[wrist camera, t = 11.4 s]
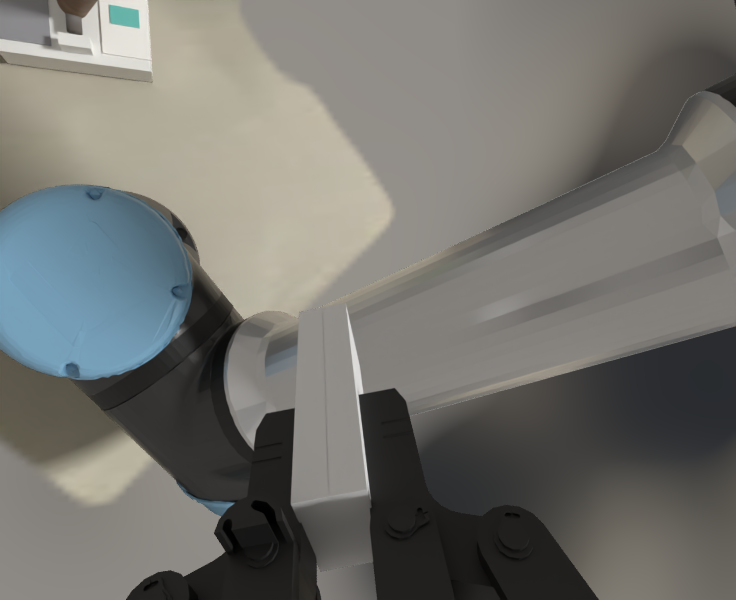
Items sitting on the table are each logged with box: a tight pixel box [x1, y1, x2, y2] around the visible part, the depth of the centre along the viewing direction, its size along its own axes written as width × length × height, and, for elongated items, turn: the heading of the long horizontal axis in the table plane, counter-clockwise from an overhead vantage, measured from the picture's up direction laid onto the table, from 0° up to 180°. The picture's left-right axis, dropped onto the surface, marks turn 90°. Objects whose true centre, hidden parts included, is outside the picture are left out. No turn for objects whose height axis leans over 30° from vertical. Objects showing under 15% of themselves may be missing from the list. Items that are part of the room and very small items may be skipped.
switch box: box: [0, 0, 153, 82], centre depth 41 cm, size 9×12×5 cm
